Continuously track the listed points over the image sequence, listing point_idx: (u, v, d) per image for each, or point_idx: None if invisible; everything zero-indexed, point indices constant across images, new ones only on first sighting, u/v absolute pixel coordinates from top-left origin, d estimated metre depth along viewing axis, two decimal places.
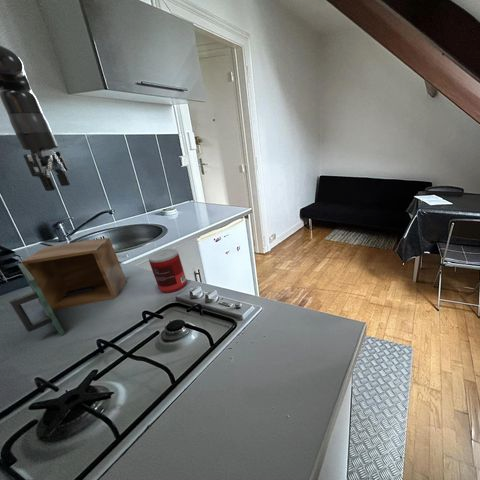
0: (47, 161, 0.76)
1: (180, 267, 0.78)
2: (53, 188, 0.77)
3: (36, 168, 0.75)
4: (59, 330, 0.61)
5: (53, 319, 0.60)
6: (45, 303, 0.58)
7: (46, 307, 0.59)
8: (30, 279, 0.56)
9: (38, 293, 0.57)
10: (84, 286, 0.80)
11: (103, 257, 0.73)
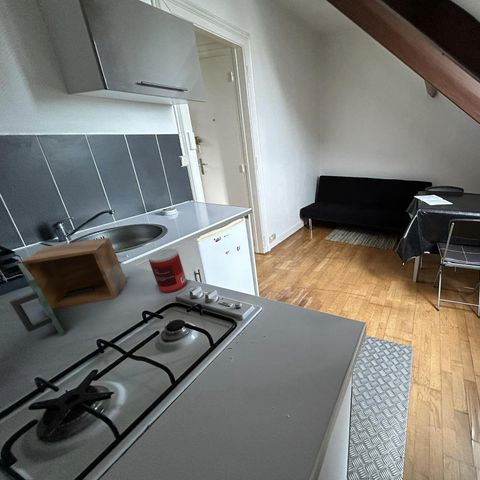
0: None
1: (180, 267, 0.78)
2: None
3: None
4: (59, 330, 0.61)
5: (53, 319, 0.60)
6: (45, 303, 0.58)
7: (46, 307, 0.59)
8: (30, 279, 0.56)
9: (38, 293, 0.57)
10: (84, 286, 0.80)
11: (103, 257, 0.73)
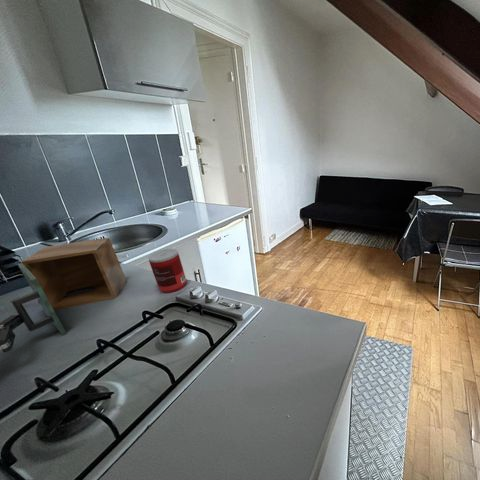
0: None
1: (180, 267, 0.78)
2: None
3: None
4: (60, 329, 0.61)
5: (54, 318, 0.60)
6: (46, 303, 0.59)
7: (47, 306, 0.59)
8: (31, 279, 0.57)
9: (39, 292, 0.57)
10: (84, 286, 0.80)
11: (103, 257, 0.73)
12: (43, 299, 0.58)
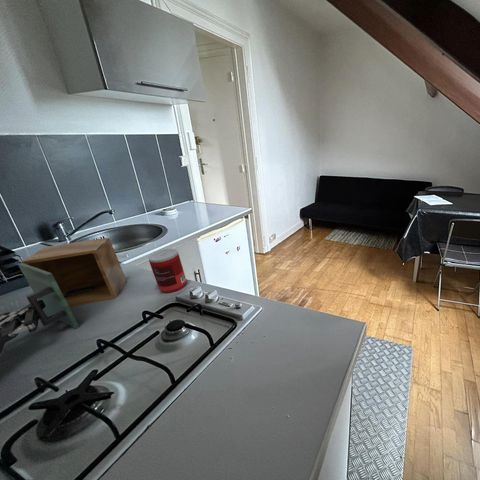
0: None
1: (180, 267, 0.78)
2: None
3: None
4: (74, 323, 0.63)
5: (68, 312, 0.62)
6: (61, 297, 0.61)
7: (62, 300, 0.61)
8: (46, 273, 0.58)
9: (55, 287, 0.59)
10: (84, 286, 0.80)
11: (103, 257, 0.73)
12: (58, 293, 0.60)
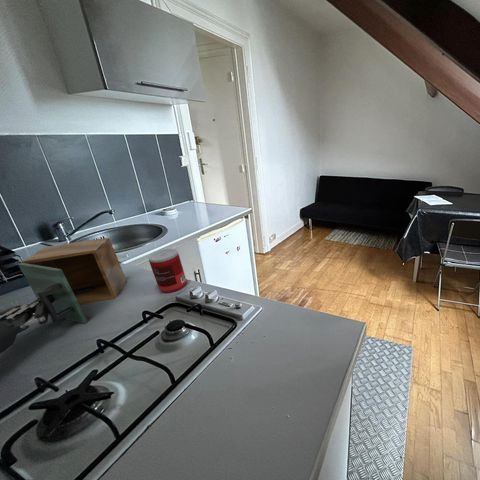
0: None
1: (180, 267, 0.78)
2: None
3: None
4: (83, 318, 0.65)
5: (77, 307, 0.64)
6: (70, 292, 0.62)
7: (71, 296, 0.62)
8: (56, 270, 0.60)
9: (64, 282, 0.61)
10: (84, 286, 0.80)
11: (103, 257, 0.73)
12: (68, 289, 0.62)
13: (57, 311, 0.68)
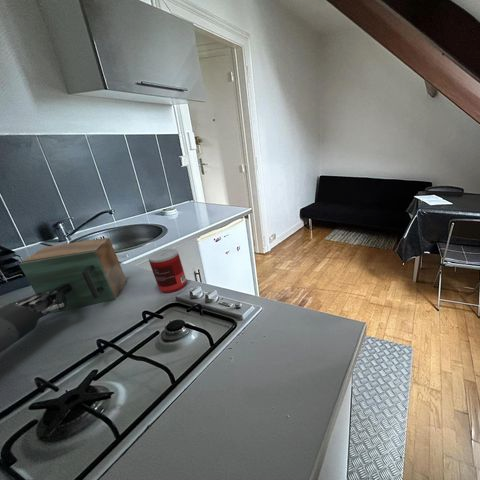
0: None
1: (180, 267, 0.78)
2: None
3: None
4: (113, 294, 0.74)
5: (109, 284, 0.73)
6: (103, 271, 0.72)
7: (104, 274, 0.72)
8: (90, 251, 0.69)
9: (99, 262, 0.70)
10: None
11: (103, 257, 0.73)
12: (101, 268, 0.71)
13: (72, 301, 0.71)
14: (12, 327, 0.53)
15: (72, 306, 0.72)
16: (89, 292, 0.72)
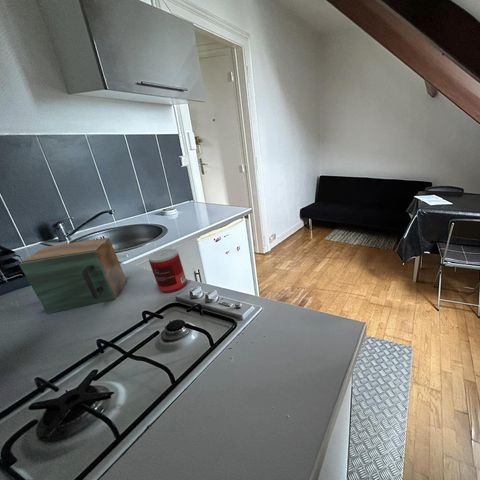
0: None
1: (180, 267, 0.78)
2: None
3: None
4: (113, 294, 0.74)
5: (108, 285, 0.73)
6: (103, 271, 0.72)
7: (104, 274, 0.72)
8: (90, 252, 0.69)
9: (98, 262, 0.70)
10: None
11: (103, 257, 0.73)
12: (101, 268, 0.71)
13: (72, 301, 0.71)
14: None
15: (71, 306, 0.72)
16: (89, 292, 0.72)
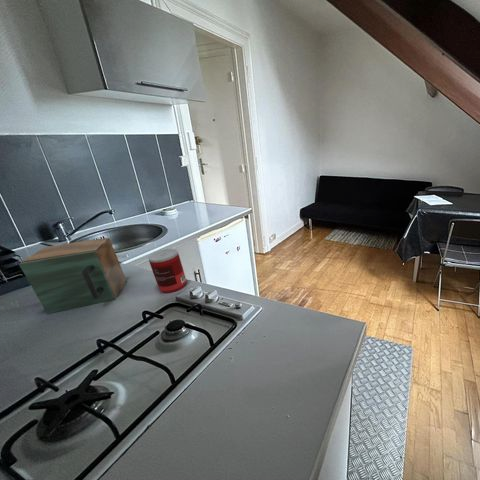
0: None
1: (180, 267, 0.78)
2: None
3: None
4: (113, 294, 0.74)
5: (108, 285, 0.73)
6: (103, 271, 0.72)
7: (104, 274, 0.72)
8: (90, 252, 0.69)
9: (98, 262, 0.70)
10: None
11: (103, 257, 0.73)
12: (101, 268, 0.71)
13: (72, 301, 0.71)
14: None
15: (71, 306, 0.72)
16: (89, 292, 0.72)
